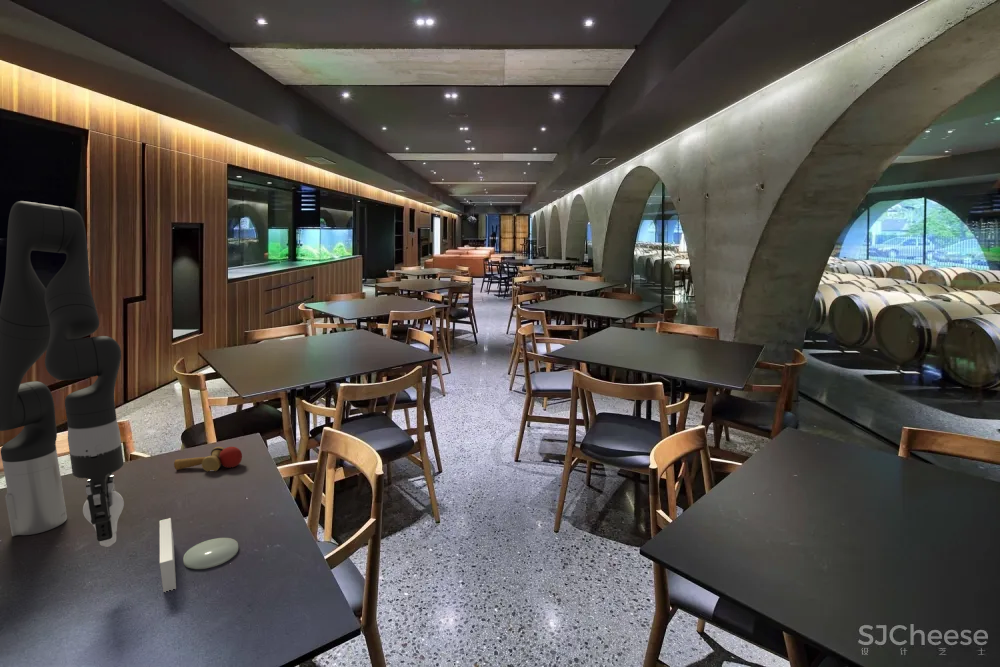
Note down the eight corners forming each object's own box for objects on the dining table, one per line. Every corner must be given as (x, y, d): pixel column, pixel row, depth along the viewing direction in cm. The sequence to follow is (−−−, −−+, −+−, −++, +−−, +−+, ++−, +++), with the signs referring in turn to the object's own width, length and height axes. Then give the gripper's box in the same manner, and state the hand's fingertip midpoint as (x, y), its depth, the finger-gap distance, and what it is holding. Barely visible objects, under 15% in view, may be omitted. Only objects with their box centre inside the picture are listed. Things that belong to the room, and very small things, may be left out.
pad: (184, 575, 103) (184, 571, 103) (182, 550, 111) (182, 547, 111) (241, 558, 108) (241, 555, 108) (235, 536, 116) (235, 533, 116)
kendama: (170, 480, 148) (237, 468, 149) (167, 458, 148) (233, 446, 149) (185, 473, 155) (247, 462, 157) (181, 452, 155) (244, 441, 157)
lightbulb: (112, 555, 97) (105, 499, 95) (79, 554, 97) (72, 498, 95) (136, 537, 103) (129, 484, 101) (105, 536, 103) (98, 483, 101)
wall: (163, 592, 98) (159, 563, 97) (162, 546, 113) (159, 520, 112) (176, 589, 99) (172, 559, 98) (173, 543, 114) (170, 517, 113)
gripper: (75, 437, 100) (86, 519, 103) (63, 464, 88) (76, 557, 91) (123, 430, 104) (132, 510, 107) (118, 455, 92) (129, 544, 95)
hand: (106, 531), depth 99 cm, fingers closed on lightbulb, 5 cm apart
